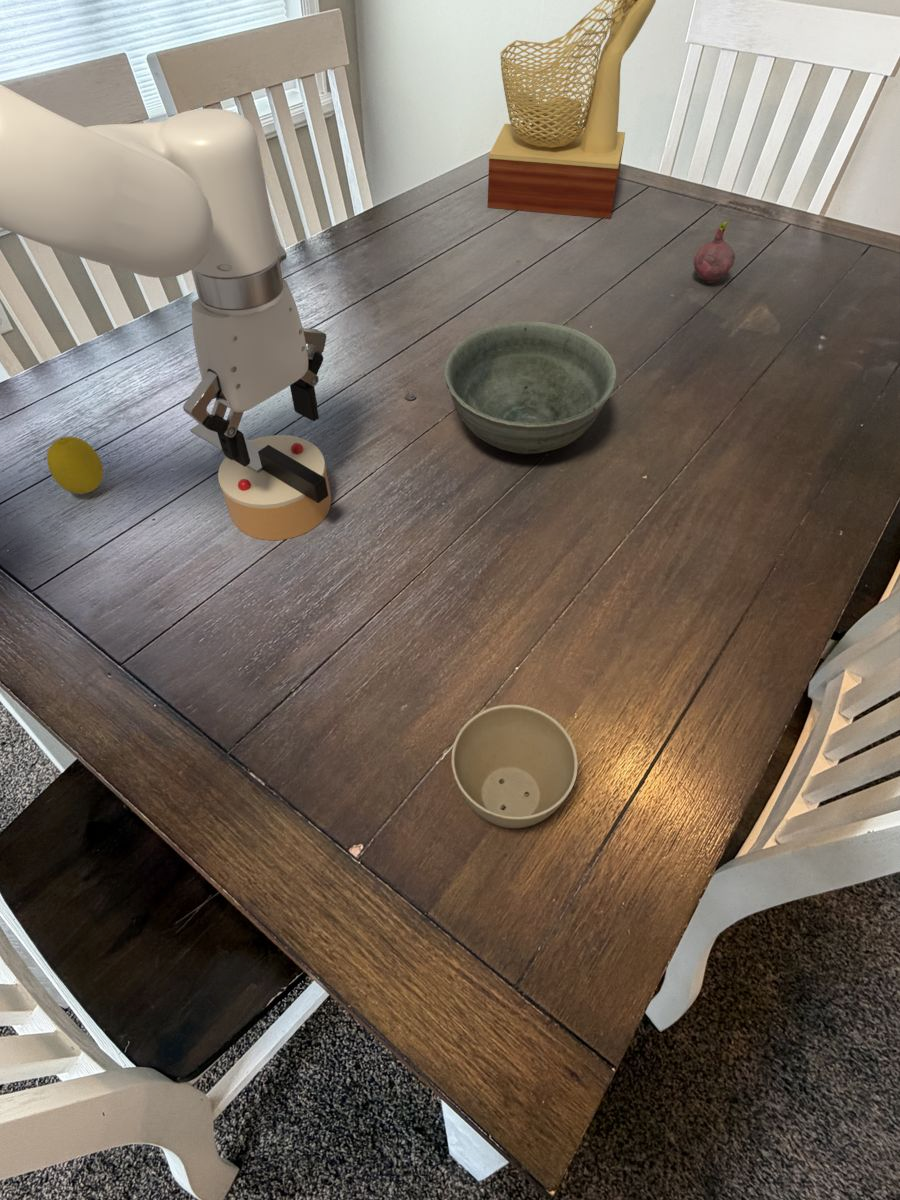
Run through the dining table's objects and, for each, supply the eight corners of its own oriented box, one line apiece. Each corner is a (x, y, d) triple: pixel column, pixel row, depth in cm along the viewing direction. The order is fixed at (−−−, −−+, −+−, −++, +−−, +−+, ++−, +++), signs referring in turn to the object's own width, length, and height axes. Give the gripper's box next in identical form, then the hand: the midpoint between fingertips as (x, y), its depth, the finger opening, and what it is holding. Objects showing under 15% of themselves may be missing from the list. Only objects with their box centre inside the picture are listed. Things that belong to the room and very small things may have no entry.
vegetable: (683, 286, 119) (698, 223, 112) (696, 270, 123) (712, 208, 115) (719, 296, 117) (738, 232, 110) (731, 280, 121) (750, 217, 113)
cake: (208, 510, 87) (193, 467, 82) (283, 458, 92) (273, 416, 87) (277, 556, 82) (266, 514, 77) (352, 498, 88) (345, 456, 83)
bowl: (626, 412, 98) (641, 345, 90) (567, 508, 86) (577, 440, 79) (488, 371, 104) (490, 305, 97) (415, 455, 93) (411, 388, 85)
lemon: (56, 504, 87) (26, 451, 81) (79, 474, 91) (51, 421, 85) (99, 509, 87) (72, 456, 81) (120, 479, 90) (95, 426, 84)
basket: (626, 184, 145) (664, -48, 118) (618, 223, 134) (659, -24, 107) (502, 173, 149) (513, -54, 122) (485, 211, 138) (493, -30, 111)
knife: (313, 507, 79) (309, 489, 77) (190, 431, 87) (184, 413, 85) (333, 492, 80) (330, 474, 78) (210, 419, 89) (204, 401, 87)
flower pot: (510, 725, 68) (515, 683, 62) (591, 801, 63) (604, 763, 58) (428, 791, 64) (425, 752, 58) (507, 878, 59) (513, 845, 53)
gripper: (282, 233, 70) (308, 387, 83) (129, 303, 61) (185, 463, 74) (338, 256, 67) (356, 412, 80) (186, 333, 58) (233, 494, 71)
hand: (273, 437), depth 77 cm, fingers open, 9 cm apart
